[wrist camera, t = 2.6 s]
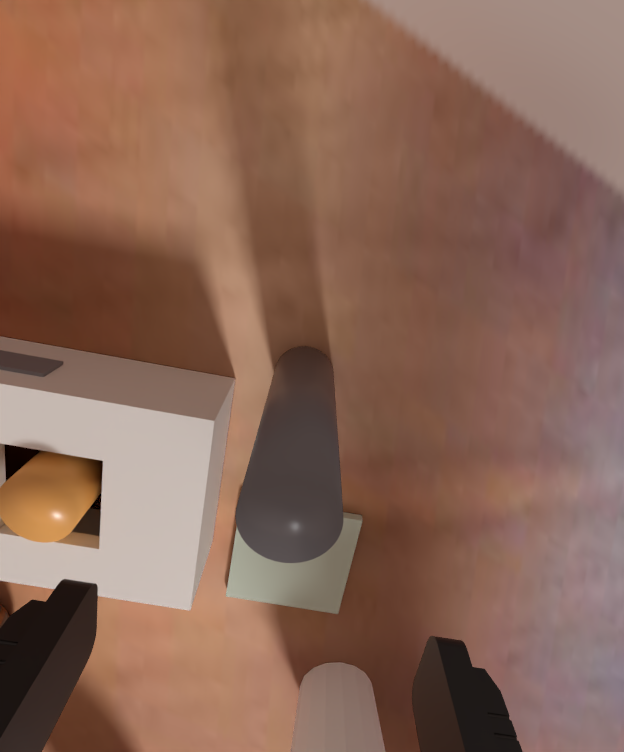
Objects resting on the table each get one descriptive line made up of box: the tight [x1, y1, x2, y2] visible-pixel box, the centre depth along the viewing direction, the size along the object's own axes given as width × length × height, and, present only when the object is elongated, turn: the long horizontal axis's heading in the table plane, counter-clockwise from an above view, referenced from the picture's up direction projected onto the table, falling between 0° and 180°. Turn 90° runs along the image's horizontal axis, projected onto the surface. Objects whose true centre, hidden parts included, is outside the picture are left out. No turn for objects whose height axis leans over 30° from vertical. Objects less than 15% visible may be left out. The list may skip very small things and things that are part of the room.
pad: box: [226, 512, 363, 614], centre depth 33 cm, size 8×8×1 cm
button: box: [0, 450, 103, 543], centre depth 26 cm, size 4×4×4 cm
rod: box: [236, 346, 343, 563], centre depth 22 cm, size 4×4×14 cm
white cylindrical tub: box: [291, 662, 385, 752], centre depth 34 cm, size 7×7×7 cm
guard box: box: [0, 336, 235, 610], centre depth 28 cm, size 16×12×6 cm
